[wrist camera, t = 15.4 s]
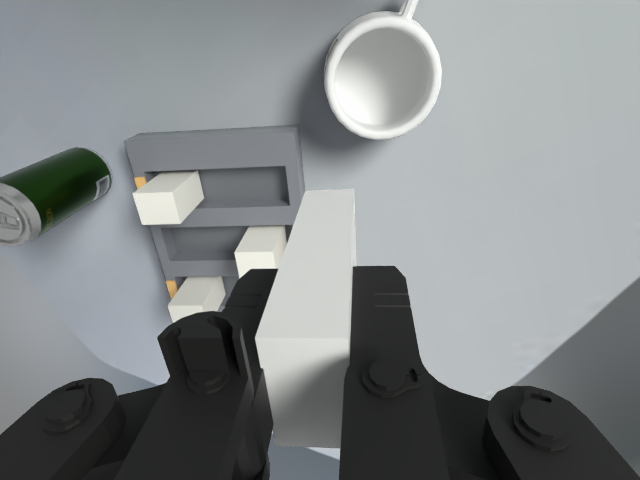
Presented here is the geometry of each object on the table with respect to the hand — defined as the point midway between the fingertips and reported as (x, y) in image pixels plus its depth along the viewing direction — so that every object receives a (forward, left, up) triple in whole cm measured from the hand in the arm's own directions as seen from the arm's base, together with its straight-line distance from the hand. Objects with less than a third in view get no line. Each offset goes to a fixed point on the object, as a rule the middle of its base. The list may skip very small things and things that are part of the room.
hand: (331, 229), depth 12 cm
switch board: (+13, -13, -26) cm, 32 cm away
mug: (-3, +3, -27) cm, 27 cm away
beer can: (+6, -28, -27) cm, 39 cm away
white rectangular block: (+7, -17, -25) cm, 31 cm away
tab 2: (+19, -17, -25) cm, 36 cm away
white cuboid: (+13, -9, -25) cm, 29 cm away
